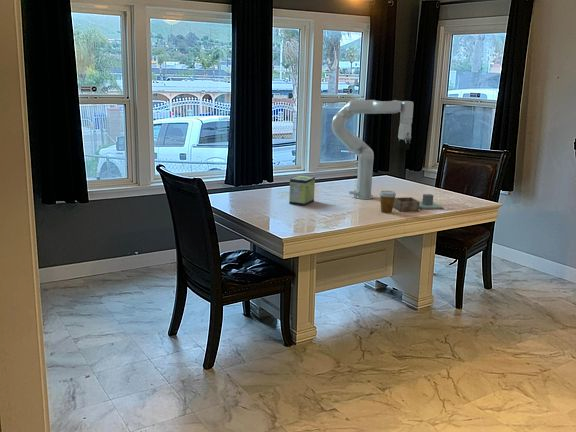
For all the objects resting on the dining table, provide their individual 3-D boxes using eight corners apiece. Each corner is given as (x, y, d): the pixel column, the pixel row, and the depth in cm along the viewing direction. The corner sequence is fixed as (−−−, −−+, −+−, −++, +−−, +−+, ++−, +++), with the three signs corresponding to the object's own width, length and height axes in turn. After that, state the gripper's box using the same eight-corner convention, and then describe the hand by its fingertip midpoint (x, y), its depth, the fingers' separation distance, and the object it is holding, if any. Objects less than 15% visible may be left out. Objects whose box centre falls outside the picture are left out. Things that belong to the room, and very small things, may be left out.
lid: (421, 208, 356) (422, 197, 354) (413, 203, 368) (414, 192, 367) (441, 208, 359) (442, 197, 357) (432, 203, 371) (433, 192, 369)
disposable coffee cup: (396, 211, 349) (397, 191, 346) (392, 214, 341) (393, 194, 338) (380, 209, 353) (382, 189, 350) (376, 212, 345) (377, 192, 342)
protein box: (314, 201, 369) (315, 176, 365) (304, 206, 355) (305, 180, 352) (299, 199, 373) (300, 175, 369) (288, 203, 360) (289, 179, 356)
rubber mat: (421, 209, 355) (421, 209, 355) (411, 203, 369) (411, 203, 369) (443, 209, 358) (444, 208, 358) (433, 203, 372) (433, 202, 372)
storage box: (399, 212, 348) (400, 202, 346) (392, 207, 359) (393, 197, 358) (418, 211, 350) (419, 201, 349) (410, 206, 361) (411, 197, 360)
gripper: (395, 119, 375) (393, 146, 380) (405, 122, 359) (403, 150, 363) (406, 119, 377) (404, 146, 381) (417, 122, 360) (414, 150, 365)
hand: (403, 148), depth 372 cm, fingers open, 9 cm apart
